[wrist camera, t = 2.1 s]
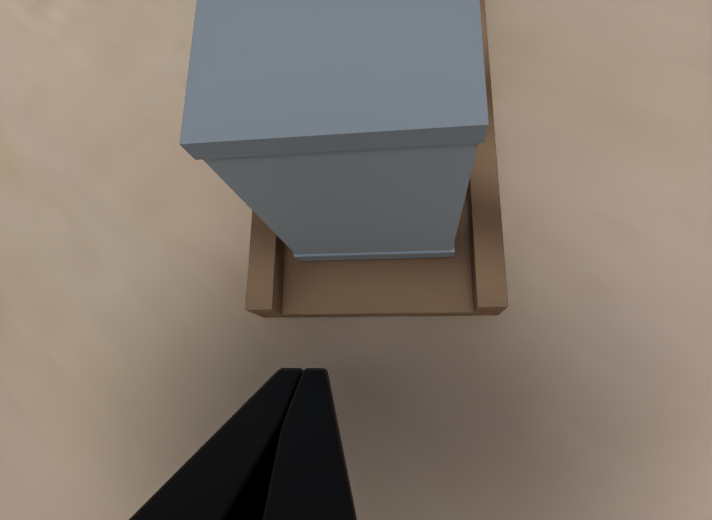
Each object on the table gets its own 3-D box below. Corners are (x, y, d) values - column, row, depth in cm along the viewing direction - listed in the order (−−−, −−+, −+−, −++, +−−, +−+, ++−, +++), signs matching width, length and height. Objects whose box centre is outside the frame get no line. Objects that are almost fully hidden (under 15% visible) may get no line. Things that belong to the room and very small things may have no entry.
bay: (498, 315, 21) (520, 295, 16) (264, 317, 23) (221, 300, 18) (474, -22, 26) (486, -113, 21) (283, -2, 27) (254, -82, 23)
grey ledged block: (453, 257, 21) (488, 124, 10) (298, 261, 22) (179, 144, 11) (447, 135, 22) (472, -93, 12) (303, 143, 23) (203, -60, 13)
